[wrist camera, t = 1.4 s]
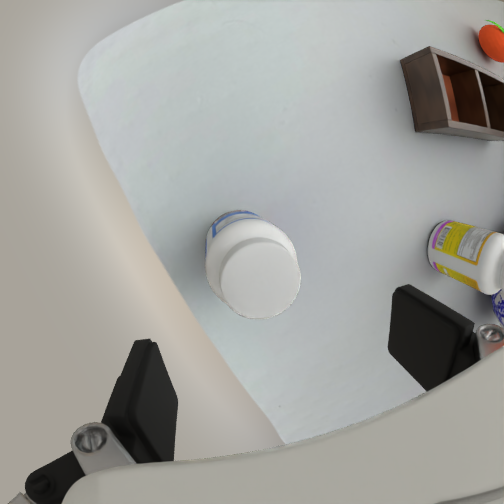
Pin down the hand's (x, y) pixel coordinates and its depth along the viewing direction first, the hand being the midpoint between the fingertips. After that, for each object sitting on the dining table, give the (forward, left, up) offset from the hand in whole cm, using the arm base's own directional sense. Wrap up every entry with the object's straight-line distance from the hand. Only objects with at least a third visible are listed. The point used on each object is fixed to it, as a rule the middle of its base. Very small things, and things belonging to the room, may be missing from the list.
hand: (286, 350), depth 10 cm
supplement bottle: (+16, +20, -17) cm, 31 cm away
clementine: (-3, +52, -17) cm, 55 cm away
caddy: (+2, +33, -17) cm, 37 cm away
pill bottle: (0, 0, -17) cm, 17 cm away
